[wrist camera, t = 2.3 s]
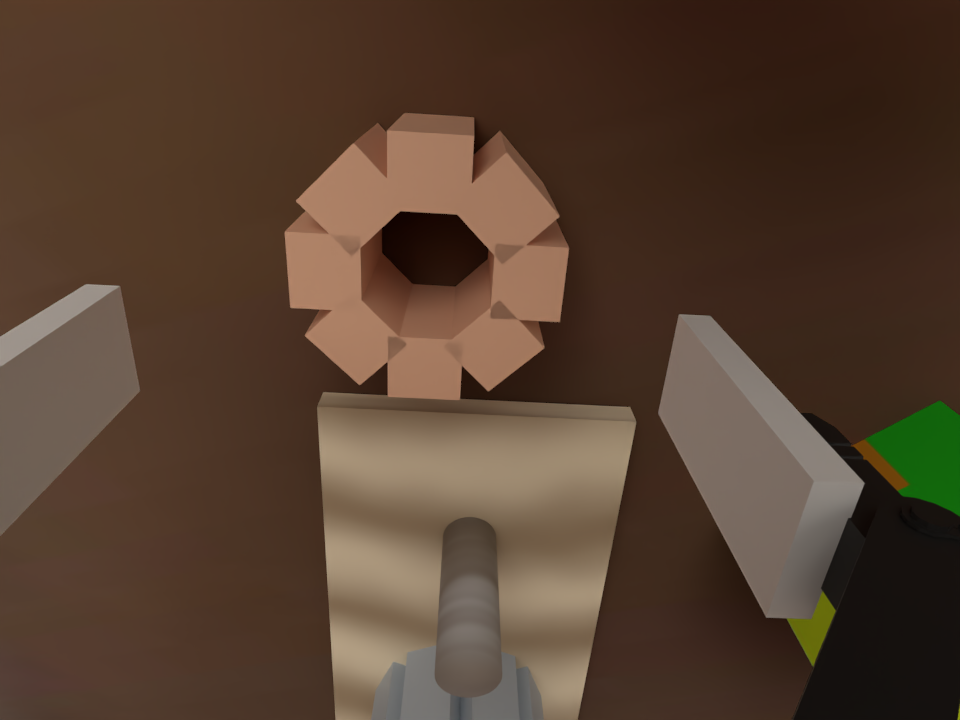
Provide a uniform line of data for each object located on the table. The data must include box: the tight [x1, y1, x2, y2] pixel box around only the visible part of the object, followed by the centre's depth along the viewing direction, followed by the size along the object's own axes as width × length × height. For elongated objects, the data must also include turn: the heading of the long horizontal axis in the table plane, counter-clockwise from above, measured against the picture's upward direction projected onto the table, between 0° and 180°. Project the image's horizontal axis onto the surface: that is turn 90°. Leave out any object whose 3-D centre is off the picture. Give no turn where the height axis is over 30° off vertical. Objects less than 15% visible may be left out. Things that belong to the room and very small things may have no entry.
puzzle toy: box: [786, 401, 960, 720], centre depth 26 cm, size 10×10×10 cm
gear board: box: [317, 392, 636, 720], centre depth 29 cm, size 24×13×8 cm, turn 176°
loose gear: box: [285, 113, 569, 400], centre depth 22 cm, size 8×8×5 cm
